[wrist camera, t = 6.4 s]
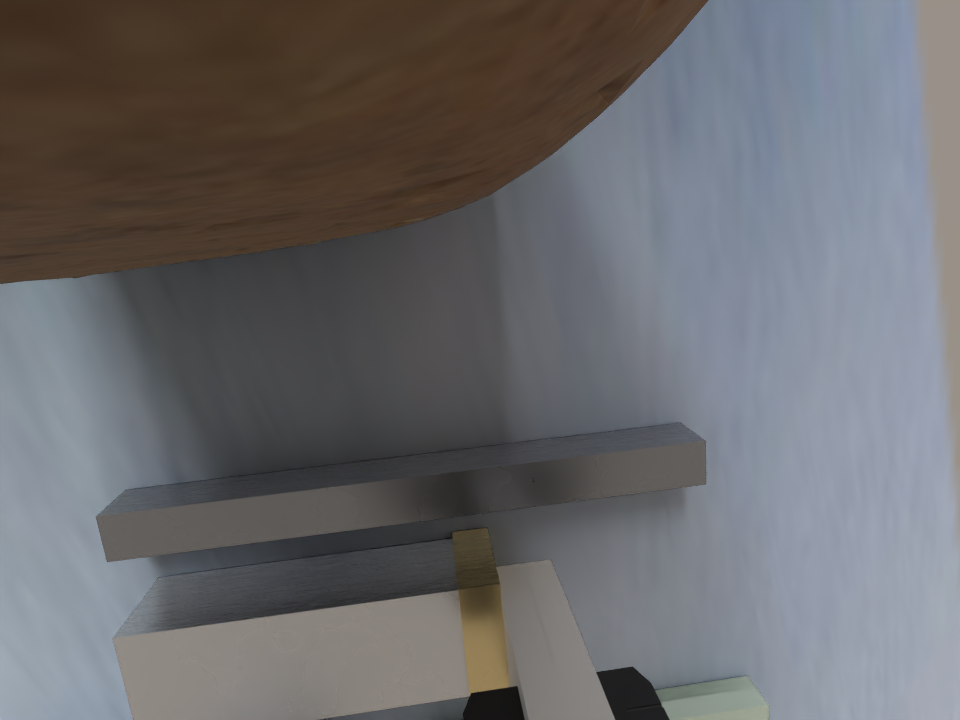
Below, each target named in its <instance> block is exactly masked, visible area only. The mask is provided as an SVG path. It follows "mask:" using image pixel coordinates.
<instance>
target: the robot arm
mask: <svg viewBox="0 0 960 720" xmlns="http://www.w3.org/2000/svg"><path fill="white" fill-rule="evenodd" d="M496 568H497V572H498V577H499V581H500V587H501V600H502V611H503V622H504V633H505V643H506V654H507V665H508V676H509V686H510V687H507V688H501V689H494V690H487V691H481V692H474V693H471V695H470V697H469V700H468V702H467V705H466V708H465V710H464V713H463V718H464V720H670V719H669V717H668V715H667V713H666V711H665V709H664V707H662V704H661V702H660V700H659V698H658V696H657V694H656V692H655V690H654V688H653V686H652V684H651V682H649V681H648V680H647V679H646V678H645V677H644V676H643V675H641V674H640V673H639V672H638V671H637V670H636V669H635V668H633V667H627V668H621V669H614V670H608V671H601V672H596V671H595V668H594V666H593V663H592V661H591V658H590V656H589V653H588V651H587V648H586V646H585V643H584V641H583V638H582V636H581V633H580V631H579V628H578V626H577V623H576V621H575V618H574V616H573V613H572V611H571V608H570V606H569V603H568V601H567V598H566V596H565V593H564V591H563V588H562V586H561V583H560V581H559V578H558V576H557V573H556V571H555V568H554V566H553V563H552V561H551V559H550V560H542V561H535V562H528V563H520V564H513V565H506V566H498V567H496Z"/></svg>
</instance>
